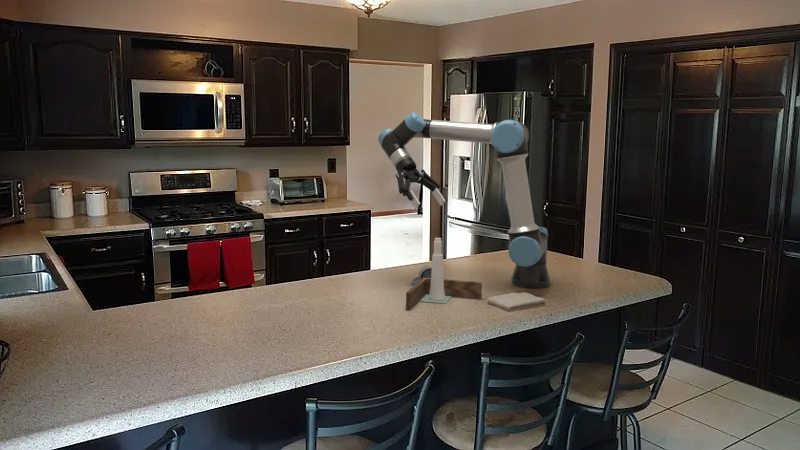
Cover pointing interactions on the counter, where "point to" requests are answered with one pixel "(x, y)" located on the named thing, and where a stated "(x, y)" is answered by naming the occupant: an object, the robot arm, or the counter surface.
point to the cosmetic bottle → (437, 273)
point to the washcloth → (516, 301)
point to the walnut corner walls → (450, 288)
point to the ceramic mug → (422, 274)
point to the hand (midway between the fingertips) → (430, 204)
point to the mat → (426, 299)
